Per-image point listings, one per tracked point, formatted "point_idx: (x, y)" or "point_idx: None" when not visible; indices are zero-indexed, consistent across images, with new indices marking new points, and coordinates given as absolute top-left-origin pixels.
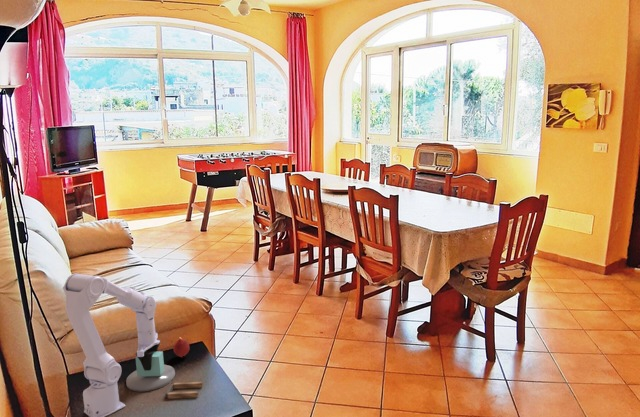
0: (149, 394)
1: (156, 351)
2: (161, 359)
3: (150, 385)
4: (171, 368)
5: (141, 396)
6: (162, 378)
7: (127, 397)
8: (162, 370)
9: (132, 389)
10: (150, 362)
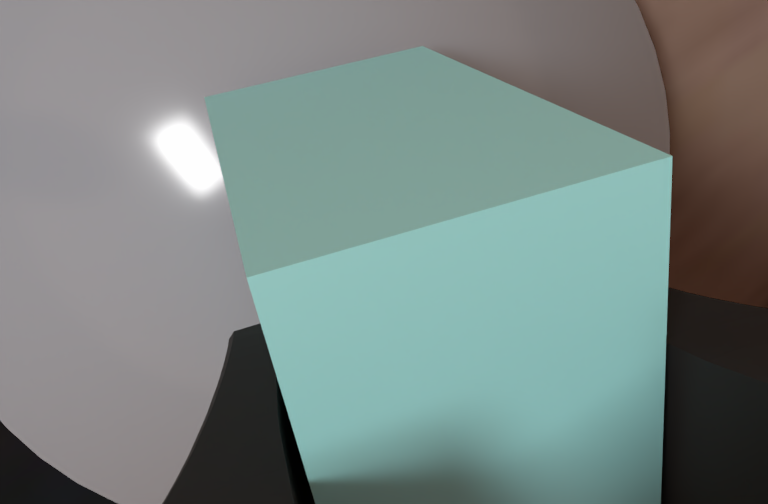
0: (708, 13)
1: (263, 483)
2: (385, 150)
3: (613, 87)
4: (21, 23)
5: (737, 95)
6: (415, 2)
7: (732, 244)
8: (318, 80)
9: None
10: (672, 289)
